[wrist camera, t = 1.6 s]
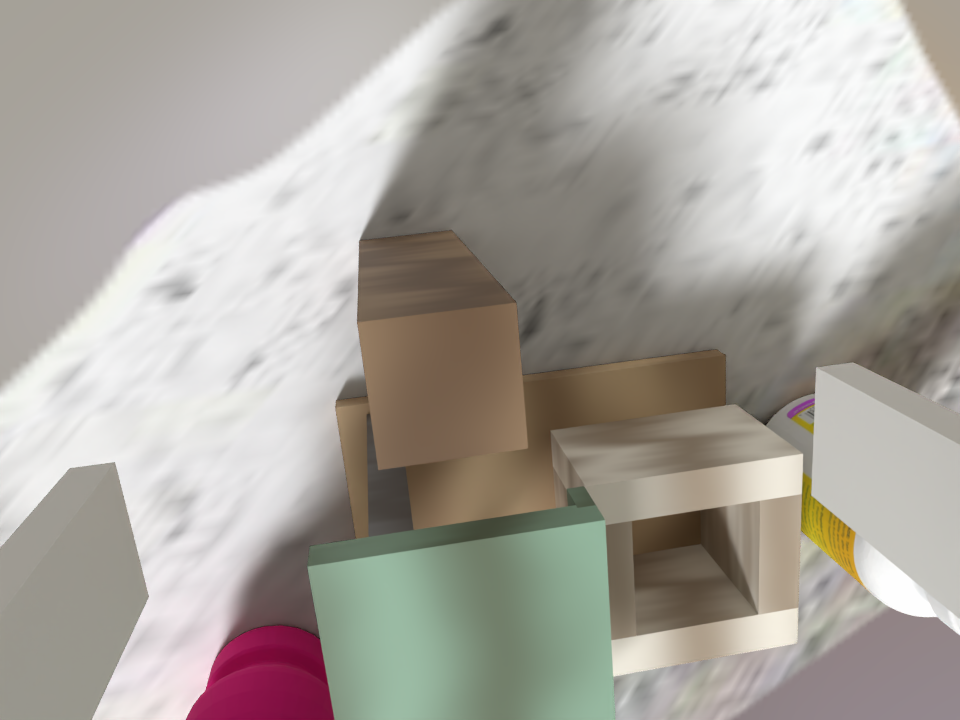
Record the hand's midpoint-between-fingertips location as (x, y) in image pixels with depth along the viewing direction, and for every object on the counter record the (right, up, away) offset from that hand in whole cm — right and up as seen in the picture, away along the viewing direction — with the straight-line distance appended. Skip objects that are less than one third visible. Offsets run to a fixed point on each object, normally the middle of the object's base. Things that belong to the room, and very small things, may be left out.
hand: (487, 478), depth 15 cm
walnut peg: (-3, +6, +20) cm, 21 cm away
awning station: (+3, -5, +24) cm, 24 cm away
